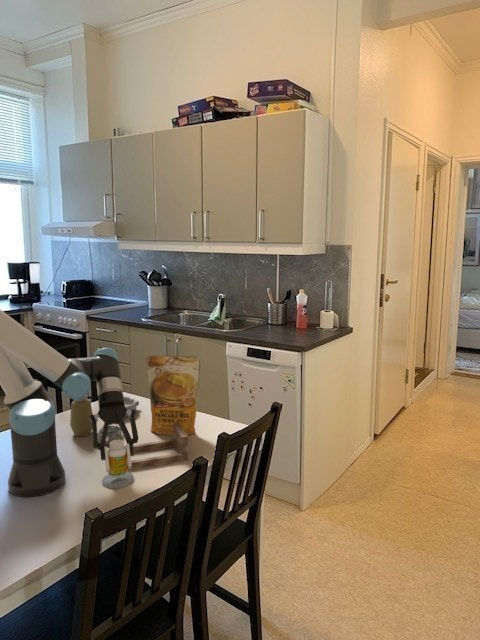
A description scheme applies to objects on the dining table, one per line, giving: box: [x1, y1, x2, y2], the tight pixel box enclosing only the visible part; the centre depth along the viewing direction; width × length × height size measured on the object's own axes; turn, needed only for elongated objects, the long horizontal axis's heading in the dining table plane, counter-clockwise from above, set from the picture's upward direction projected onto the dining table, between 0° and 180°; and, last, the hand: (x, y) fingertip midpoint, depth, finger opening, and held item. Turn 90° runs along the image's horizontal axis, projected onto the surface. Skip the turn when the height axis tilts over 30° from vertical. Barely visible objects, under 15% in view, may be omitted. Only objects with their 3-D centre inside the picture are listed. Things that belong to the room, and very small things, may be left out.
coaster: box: [101, 471, 135, 490], centre depth 143 cm, size 9×9×1 cm
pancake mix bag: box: [145, 355, 201, 436], centre depth 176 cm, size 7×19×28 cm, turn 85°
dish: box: [123, 396, 140, 419], centre depth 195 cm, size 14×14×5 cm
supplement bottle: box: [107, 439, 128, 478], centre depth 142 cm, size 5×5×10 cm
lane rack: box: [124, 422, 189, 471], centre depth 158 cm, size 20×12×8 cm, turn 110°
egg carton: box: [97, 424, 123, 446], centre depth 171 cm, size 11×8×4 cm
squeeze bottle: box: [69, 394, 94, 437], centre depth 174 cm, size 8×8×18 cm
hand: (119, 468), depth 139 cm, fingers closed on supplement bottle, 5 cm apart
